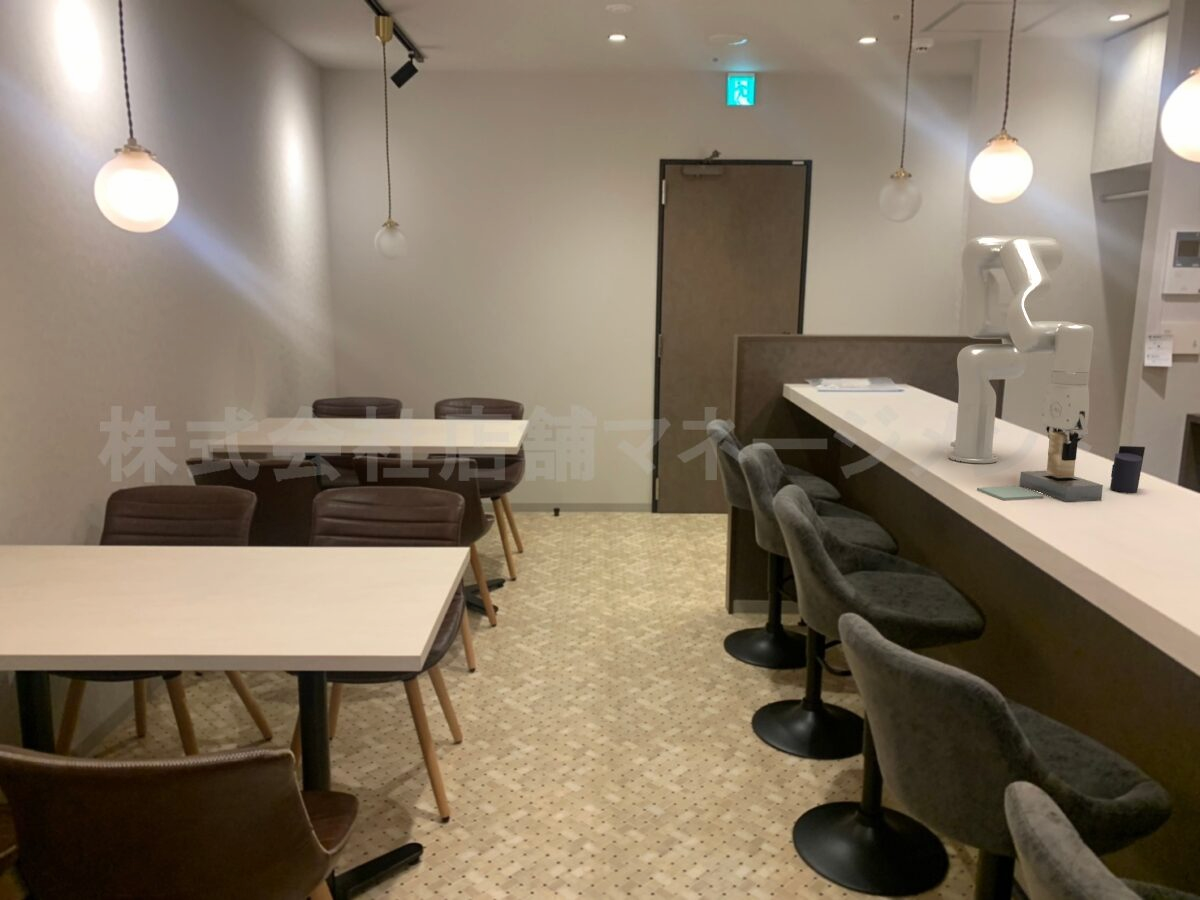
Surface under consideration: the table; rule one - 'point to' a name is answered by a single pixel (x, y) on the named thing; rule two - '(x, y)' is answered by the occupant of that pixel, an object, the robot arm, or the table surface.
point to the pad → (1009, 492)
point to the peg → (1059, 457)
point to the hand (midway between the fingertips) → (1061, 457)
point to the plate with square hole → (1061, 486)
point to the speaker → (1127, 469)
